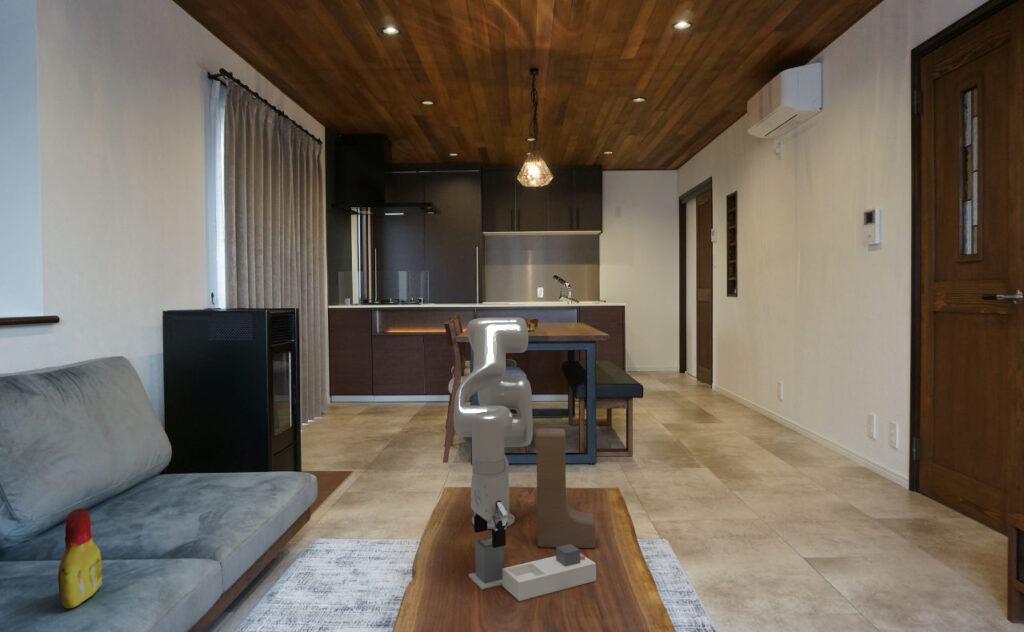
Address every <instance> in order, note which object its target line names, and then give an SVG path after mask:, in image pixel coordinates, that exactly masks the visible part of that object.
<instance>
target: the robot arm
mask: <svg viewBox="0 0 1024 632" xmlns="http://www.w3.org/2000/svg"><path fill="white" fill-rule="evenodd" d="M466 333H467V338H468V341H469V344H470V348H471V349H472V351H473V370H472V372H470V373H469V374H468V375H467V376H466V377H465V378H464V380H462V382H461V383H460V385H459V386H458V388H457V390H456V393H455V396H454V403H453V404H454V406H453V429H454V431H455V433H456V435H458V436H459V437H462V438H471V453H472V454H471V455H472V457H471V460H472V463H471V464H472V467H471V469H472V476H471V484H470V485H471V486H470V508H471V510H472V511H473V512H472V513H473V516H472V517H471V524H472V525H473V531H474V532H475V533H476V534H477V533H481V532H486V531H487V530H491V538H492V547H493V548H497V547H501V546H504V547H505V546H506V543H507V542H506V541H507V538H506V537H507V536H506V534H507V533H506V531H507V527H510V526H512V525H513V524H514V523H515V519H516V518H515V516H514V515H513V514H512V513H510V479H509V478H510V468H509V467H510V466H509V460H508V457H507V456H506V453H505V448H519V447H520V448H521V447H523V448H524V447H527V446H529V445H530V444H531V443H532V441H533V436H534V435H533V433H534V431H533V430H534V429H533V427H534V426H533V403H532V402H533V397H532V396H533V394H532V393H533V392H532V388H531V383H530V381H529V379H527V378H526V377H523V376H507V363H506V361H507V360H506V358H507V357H506V356H507V355H506V354H516V353H518V354H521V353H525V352H526V351H527V349H528V345H529V329H528V324H527V322H526V320H525V318H522V317H513V316H512V317H510V316H509V317H506V316H505V317H478V318H475V319H471V320H470V321H469V322H468V323H467V327H466ZM475 394H477V400H478V401H477V402H478V405H466V404H467V402H468V400H469V399H470V397H472V396H473V395H475ZM510 410H515V411H516V413H512V411H510Z"/></svg>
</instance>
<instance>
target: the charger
mask: <svg viewBox="0 0 1024 632" xmlns="http://www.w3.org/2000/svg"><path fill="white" fill-rule="evenodd" d="M474 544H475V546H474V548H475V550H474V554H475V555H474V556H475V557H474V560H475V563H474V564H475V573H476V576H477V577H478V578H479V579H480V580H481V581H482V582H483V583H484V584H485V583H489V582H493V581H497V580H502V568H505V546H501V547H497V548H493V547H492V537H488V538H484V539H478V540H475V541H474Z"/></svg>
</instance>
